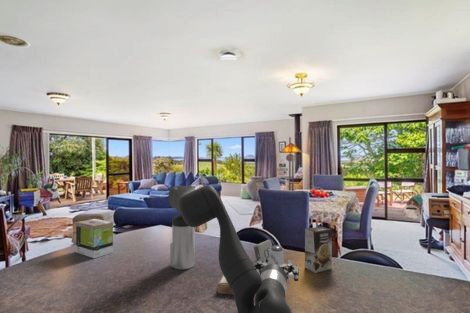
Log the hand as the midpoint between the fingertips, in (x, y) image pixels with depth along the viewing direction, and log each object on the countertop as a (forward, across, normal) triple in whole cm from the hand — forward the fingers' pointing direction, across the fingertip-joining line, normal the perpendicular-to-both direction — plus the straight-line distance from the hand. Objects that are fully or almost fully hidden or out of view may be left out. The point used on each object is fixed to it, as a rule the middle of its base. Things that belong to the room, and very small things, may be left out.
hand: (275, 261), depth 88 cm
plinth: (+7, +14, +12) cm, 19 cm away
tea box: (+25, +86, +11) cm, 91 cm away
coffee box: (+28, -16, +12) cm, 34 cm away
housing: (+12, 0, +12) cm, 17 cm away
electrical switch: (+29, +6, +12) cm, 31 cm away
